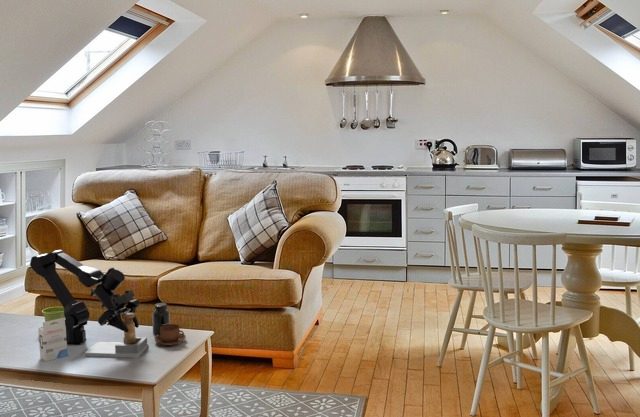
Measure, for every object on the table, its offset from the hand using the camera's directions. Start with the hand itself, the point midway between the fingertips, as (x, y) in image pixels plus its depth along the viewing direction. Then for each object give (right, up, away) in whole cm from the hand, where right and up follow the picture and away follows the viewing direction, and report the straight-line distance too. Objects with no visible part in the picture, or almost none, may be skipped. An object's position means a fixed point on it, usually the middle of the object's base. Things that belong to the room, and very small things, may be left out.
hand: (133, 329), depth 256 cm
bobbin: (-1, -7, +2) cm, 8 cm away
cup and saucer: (+11, -7, +12) cm, 18 cm away
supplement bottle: (+5, -6, +23) cm, 24 cm away
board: (-7, -9, +2) cm, 11 cm away
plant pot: (-40, -5, +27) cm, 48 cm away
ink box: (-28, -10, -4) cm, 30 cm away
